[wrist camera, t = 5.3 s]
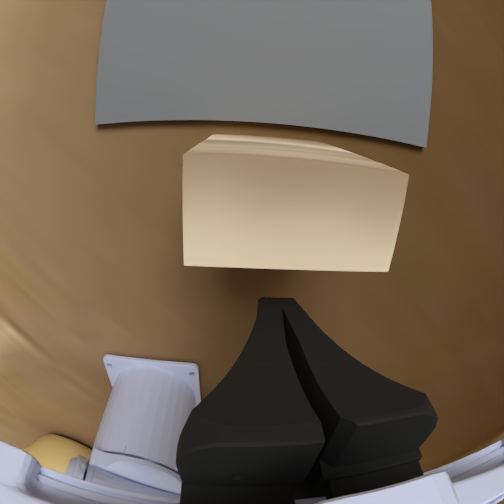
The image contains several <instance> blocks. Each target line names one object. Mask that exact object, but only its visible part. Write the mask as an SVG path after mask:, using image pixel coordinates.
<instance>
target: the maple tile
mask: <svg viewBox="0 0 504 504" xmlns="http://www.w3.org/2000/svg"><path fill="white" fill-rule="evenodd" d="M408 178H409V174H406V173H404V172H401V171H399V170H397V169H394V168H392V167H389V166H387V165H384V164H381V163H379V162H376V161H374V160H371V159H368V158H366V157H363V156H360V155H357V154H354V153H352V152H349V151H346V150H343V149H340V148H337V147H334V146H331V145H328V144H325V143H322V142H317V141H308V140H298V139H287V138H276V137H262V136H245V135H222V134H213V135H212V136H210V137H209V138H207V139H206V140H204V141H203V142H201V143H199V144H198V145H196V146H195V147H193V148H192V149H190V150H189V151H187V152H186V153H185V154H183V252H184V266H206V267H231V268H258V269H289V270H323V271H365V272H388V270H389V267H390V263H391V259H392V255H393V251H394V247H395V243H396V238H397V234H398V230H399V225H400V221H401V216H402V211H403V206H404V201H405V195H406V190H407V184H408Z"/></svg>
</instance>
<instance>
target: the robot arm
mask: <svg viewBox="0 0 504 504" xmlns="http://www.w3.org/2000/svg"><path fill="white" fill-rule="evenodd" d="M103 361H104V364H105V367H106V370H107V373H108V376H109V379H110V382H111V385H112V387H113V388H112V391H111V394H110V397H109V400H108V402H107V405H106V408H105V411H104V414H103V417H102V420H101V423H100V426H99V429H98V432H97V435H96V439H95V442H94V445H93V448H92V452H91V454H90V456H89V458H88V460H87V458H85V457H83V456H81V455H79V456H78V457H75V458H72V459H70V461H69V464H68V467H67V470H66V473H65V474H63V473H60V472H57V471H54V470H51V469H49V468H46V467H43V466H41V465H40V463H39V462H38V461H37V460H36V458H34V457H33V456H32V455H31V454H29V453H28V452H26V451H24V450H22V449H20V448H17V447H15V446H13V445H11V444H8V443H6V442H4V441H0V504H496V503H498V502H499V501H501V500H503V499H504V437H503V438H502V440H500V441H498V442H496V443H494V444H492V445H490V446H488V447H486V448H484V449H482V450H480V451H478V452H475V453H473V454H471V455H469V456H467V457H464V458H462V459H459V460H457V461H455V462H452V463H450V464H447V465H444V466H442V467H439V468H436V469H434V470H431V471H428V472H425V473H423V472H422V469H421V467H420V464H419V462H418V460H420V459H421V457H422V455H421V453H420V450H419V447H420V446H421V445H422V444H423V442H424V441H425V440H426V439H427V438H428V436H429V435H430V434H431V433H432V431H433V430H434V428H435V426H436V424H437V420H438V417H437V414H436V412H435V410H434V408H433V406H432V405H431V403H430V401H429V399H428V397H427V396H426V394H425V393H422V392H420V391H417V390H414V389H412V388H409V387H406V386H404V385H401V384H399V383H397V382H395V381H392V380H390V379H388V378H386V377H384V376H382V375H381V374H379V373H377V372H375V371H373V370H372V369H370V368H369V367H367V366H365V365H364V364H362V363H361V362H359V361H358V360H356V359H355V358H353V357H352V356H351V355H349V354H348V353H347V352H345V351H344V350H343V349H342V348H340V347H339V346H338V345H337V344H336V343H335V342H334V341H332V340H331V339H330V338H329V337H328V336H327V335H326V334H325V333H324V332H323V331H322V330H321V329H320V328H319V327H318V326H317V325H316V324H315V323H314V322H313V320H312V319H311V318H310V317H309V316H308V315H307V314H306V312H305V311H304V310H303V309H302V308H301V306H300V305H299V304H298V303H297V302H296V301H295V299H294V298H266V297H261V298H260V299H259V300H258V307H257V318H256V321H255V324H254V327H253V330H252V332H251V334H250V337H249V339H248V341H247V343H246V345H245V347H244V349H243V351H242V353H241V354H240V356H239V358H238V359H237V361H236V362H235V364H234V365H233V367H232V368H231V369H230V371H229V372H228V373H227V375H226V376H225V377H224V378H223V380H222V381H221V382H220V383H219V384H218V385H217V386H216V387H215V389H214V390H213V391H212V392H211V393H210V394H209V395H208V396H207V397H206V398H205V399H203V400H202V401H201V393H200V380H199V367H198V365H197V364H195V363H186V362H173V361H161V360H151V359H141V358H132V357H124V356H116V355H109V354H106V355H105V356H104V358H103ZM191 372H193V373H191Z"/></svg>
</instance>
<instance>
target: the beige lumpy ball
mask: <svg viewBox="0 0 504 504" xmlns="http://www.w3.org/2000/svg"><path fill="white" fill-rule="evenodd" d="M23 450H24V451H26V452H28V453H29V454H31V455H32V456H33V457H34V458H36V460H37V461H38V462H39V463H40V465H41V466H43V467H46V468H49V469H51V470H54V471H57V472H60V473H63V474H65V473H66V470H67V467H68V464H69V461H70V459H72V458H75V457H78V456H79V455H81V456H83V457H85V458H87V460H88V458H89V456H90V454H91V452H92V450H91V449H90V448H88V447H86V446H84V445H82V444H80V443H78V442H76V441H73V440H71V439H68V438H65V437H62V436H59V435H55V434H47V435H45V436H42V437H40V438H39V439H37V440H36V441H35V442H33V443H32V444H31V445H30V446H28V447H26V448H24V449H23Z"/></svg>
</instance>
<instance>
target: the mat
mask: <svg viewBox="0 0 504 504" xmlns="http://www.w3.org/2000/svg"><path fill="white" fill-rule="evenodd" d="M432 69H433V30H432V9H431V0H106V5H105V11H104V17H103V24H102V31H101V39H100V47H99V57H98V69H97V83H96V106H95V125H97V124H108V123H121V122H137V121H161V120H220V121H244V122H261V123H274V124H285V125H296V126H305V127H313V128H321V129H329V130H336V131H343V132H349V133H356V134H362V135H367V136H373V137H378V138H384V139H389V140H394V141H398V142H403V143H408V144H412V145H416V146H421V147H425V148H426V145H427V136H428V128H429V118H430V106H431V92H432Z"/></svg>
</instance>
